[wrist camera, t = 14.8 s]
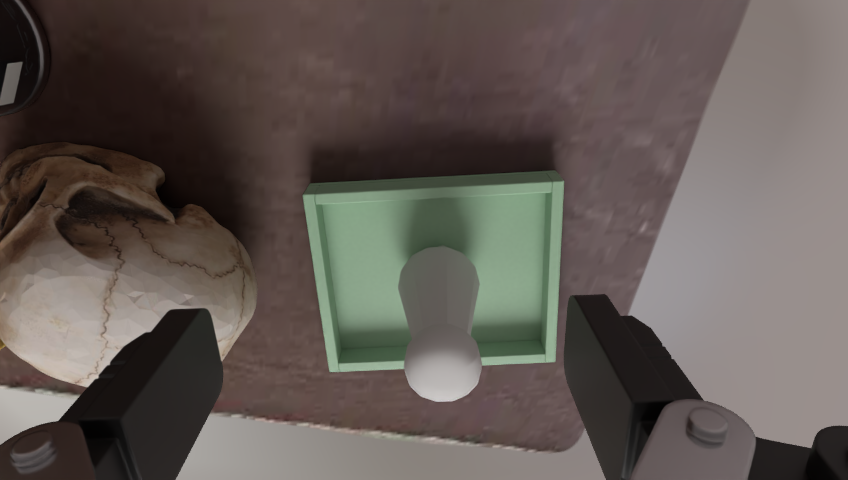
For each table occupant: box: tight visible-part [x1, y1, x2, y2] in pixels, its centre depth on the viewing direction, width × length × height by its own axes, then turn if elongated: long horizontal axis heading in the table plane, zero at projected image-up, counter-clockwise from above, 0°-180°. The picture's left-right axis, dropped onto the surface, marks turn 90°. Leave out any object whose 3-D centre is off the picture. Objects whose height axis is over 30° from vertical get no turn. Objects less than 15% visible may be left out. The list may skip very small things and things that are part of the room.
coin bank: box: [0, 142, 257, 387], centre depth 35 cm, size 16×17×13 cm
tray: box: [303, 170, 564, 372], centre depth 40 cm, size 18×15×3 cm
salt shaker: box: [398, 245, 482, 402], centre depth 35 cm, size 6×6×13 cm
